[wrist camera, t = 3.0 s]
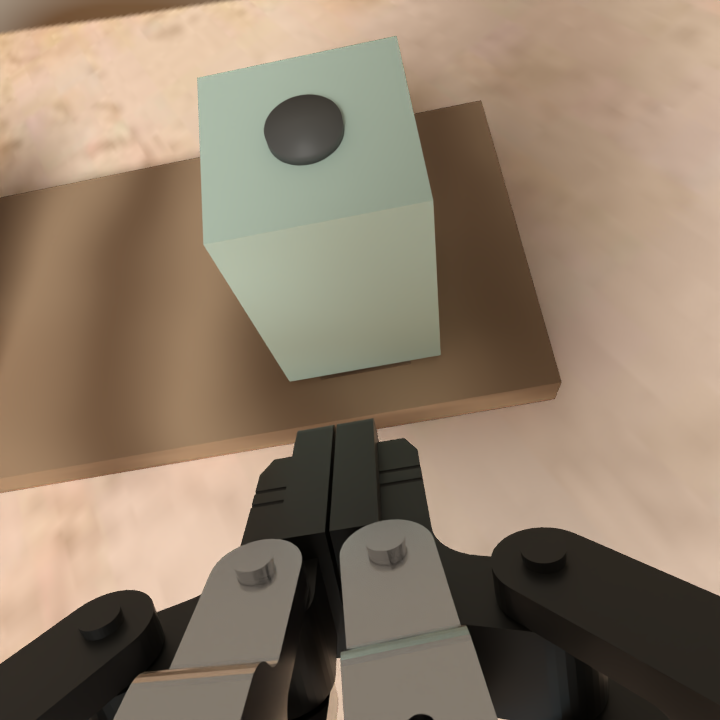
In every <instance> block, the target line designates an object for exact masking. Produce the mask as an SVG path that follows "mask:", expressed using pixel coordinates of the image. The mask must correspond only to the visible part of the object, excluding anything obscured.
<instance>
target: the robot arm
mask: <svg viewBox="0 0 720 720" xmlns="http://www.w3.org/2000/svg"><path fill="white" fill-rule="evenodd" d="M336 658H341V677H342V693H343V709H344V720H498V719H497V718H501V719H507V720H720V596H718V595H716V594H713V593H711V592H709V591H706V590H704V589H702V588H700V587H697V586H695V585H693V584H690V583H688V582H686V581H683V580H681V579H679V578H677V577H674V576H672V575H670V574H667V573H665V572H663V571H660V570H658V569H656V568H653V567H651V566H649V565H647V564H644V563H642V562H640V561H637V560H635V559H633V558H630V557H628V556H626V555H624V554H621V553H619V552H617V551H614V550H612V549H610V548H607V547H605V546H603V545H600V544H598V543H596V542H594V541H591V540H589V539H587V538H584V537H582V536H580V535H577V534H575V533H572V532H570V531H566V530H562V529H557V528H543V527H541V528H531V529H526V530H522V531H519V532H516V533H513V534H511V535H509V536H508V537H506V538H504V539H503V540H502V541H501V542H500V543H499V544H498V545H497V546H496V547H495V549H494V551H493V553H492V556H491V557H490V556H477V555H469V554H465V553H460V552H457V551H455V550H452V549H450V548H448V547H446V546H445V545H444V544H442V543H441V542H440V541H439V540H438V539H437V538H436V537H435V535H434V533H433V531H432V528H431V522H430V517H429V511H428V506H427V500H426V495H425V489H424V484H423V478H422V473H421V467H420V462H419V456H418V451H417V449H416V448H415V447H414V446H413V445H411V444H410V443H409V442H408V441H407V440H406V439H404V438H402V439H396V440H390V441H384V442H379V440H378V435H377V430H376V425H375V421H374V418H371V419H365V420H359V421H353V422H347V423H342V424H337V427H335V425H330V426H324V427H318V428H312V429H306V430H300V431H298V432H297V435H296V440H295V445H294V450H293V456H292V457H288V458H282V459H276V460H274V461H273V462H272V463H271V464H270V465H269V466H268V467H267V468H266V469H265V471H264V472H263V473H262V474H261V475H260V477H259V481H258V485H257V488H256V495H254V499H253V503H252V508H251V510H250V514H249V517H248V521H247V524H246V528H245V532H244V535H243V539H242V543H241V546H240V547H238V548H236V549H234V550H233V551H231V552H229V553H228V554H227V555H225V556H224V557H223V558H222V559H221V560H220V561H219V562H218V563H217V564H216V565H215V566H214V568H213V569H212V571H211V573H210V575H209V578H208V580H207V582H206V585H205V587H204V589H203V592H202V594H201V595H199V596H197V597H195V598H193V599H190V600H188V601H185V602H183V603H180V604H178V605H175V606H172V607H170V608H167V609H164V610H162V611H159V612H156V610H155V607H154V604H153V601H152V599H151V598H150V597H149V596H148V595H147V594H145V593H143V592H140V591H135V590H123V591H117V592H112V593H109V594H106V595H103V596H100V597H98V598H96V599H94V600H92V601H90V602H88V603H86V604H84V605H83V606H81V607H80V608H78V609H77V610H75V611H74V612H73V613H71V614H70V615H68V616H67V617H66V618H64V619H63V620H61V621H60V622H59V623H57V624H56V625H54V626H53V627H52V628H50V629H49V630H47V631H46V632H45V633H43V634H42V635H40V636H39V637H38V638H36V639H35V640H33V641H32V642H31V643H29V644H28V645H26V646H25V647H23V648H22V649H21V650H19V651H18V652H16V653H15V654H14V655H12V656H11V657H9V658H8V659H7V660H5V661H4V662H2V663H1V664H0V720H337V712H338V695H337V690H336V686H335V683H334V682H335V676H336Z"/></svg>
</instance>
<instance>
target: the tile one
mask: <svg viewBox="0 0 720 720" xmlns="http://www.w3.org/2000/svg"><path fill="white" fill-rule="evenodd" d="M197 83H198V110H199V138H200V165H201V193H202V220H203V245H204V246H205V248H206V250H207V251H208V253H209V254H210V256H211V258H212V259H213V261H214V262H215V264H216V266H217V267H218V269H219V270H220V272H221V273H222V275H223V277H224V278H225V280H226V281H227V283H228V285H229V286H230V288H231V289H232V291H233V293H234V294H235V296H236V297H237V299H238V300H239V302H240V304H241V305H242V307H243V308H244V310H245V312H246V313H247V315H248V316H249V318H250V320H251V321H252V323H253V324H254V326H255V327H256V329H257V331H258V332H259V334H260V335H261V337H262V339H263V340H264V342H265V343H266V345H267V346H268V348H269V350H270V351H271V353H272V354H273V356H274V358H275V359H276V361H277V362H278V364H279V366H280V367H281V369H282V370H283V372H284V373H285V375H286V377H287V378H288V380H289V381H290V382H291V381H296V380H302V379H308V378H314V377H319V376H325V375H331V374H336V373H342V372H348V371H353V370H359V369H365V368H370V367H376V366H382V365H387V364H393V363H399V362H404V361H410V360H416V359H421V358H427V357H433V356H438V355H441V350H440V329H439V309H438V288H437V268H436V247H435V227H434V206H433V197H432V193H431V188H430V184H429V179H428V175H427V170H426V166H425V161H424V157H423V152H422V148H421V143H420V139H419V135H418V130H417V126H416V121H415V117H414V112H413V108H412V103H411V99H410V94H409V90H408V85H407V81H406V76H405V72H404V67H403V63H402V58H401V54H400V50H399V45H398V41H397V36H394V37H389V38H384V39H379V40H375V41H370V42H365V43H361V44H356V45H351V46H346V47H342V48H337V49H332V50H327V51H323V52H318V53H313V54H308V55H304V56H299V57H294V58H290V59H285V60H280V61H275V62H271V63H266V64H261V65H256V66H252V67H247V68H242V69H237V70H233V71H228V72H223V73H219V74H214V75H209V76H204V77H200V78H197Z"/></svg>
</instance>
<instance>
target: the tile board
mask: <svg viewBox="0 0 720 720" xmlns="http://www.w3.org/2000/svg"><path fill="white" fill-rule="evenodd" d="M414 117H415V121H416V126H417V130H418V135H419V139H420V143H421V148H422V152H423V157H424V161H425V166H426V170H427V175H428V179H429V184H430V188H431V193H432V197H433V206H434V227H435V247H436V268H437V288H438V309H439V329H440V350H441V355H438V356H433V357H427V358H421V359H416V360H410V361H404V362H399V363H393V364H387V365H382V366H376V367H370V368H365V369H359V370H353V371H348V372H342V373H336V374H331V375H325V376H319V377H314V378H308V379H302V380H296V381H291V382H290V381H289V380H288V378H287V377H286V375H285V373H284V372H283V370H282V369H281V367H280V366H279V364H278V362H277V361H276V359H275V358H274V356H273V354H272V353H271V351H270V350H269V348H268V346H267V345H266V343H265V342H264V340H263V339H262V337H261V335H260V334H259V332H258V331H257V329H256V327H255V326H254V324H253V323H252V321H251V320H250V318H249V316H248V315H247V313H246V312H245V310H244V308H243V307H242V305H241V304H240V302H239V300H238V299H237V297H236V296H235V294H234V293H233V291H232V289H231V288H230V286H229V285H228V283H227V281H226V280H225V278H224V277H223V275H222V273H221V272H220V270H219V269H218V267H217V266H216V264H215V262H214V261H213V259H212V258H211V256H210V254H209V253H208V251H207V250H206V248H205V246H204V245H203V220H202V193H201V165H200V157H199V158H194V159H189V160H184V161H179V162H174V163H169V164H164V165H159V166H155V167H150V168H145V169H140V170H135V171H130V172H125V173H120V174H115V175H110V176H105V177H100V178H95V179H90V180H85V181H80V182H76V183H71V184H66V185H61V186H56V187H51V188H46V189H41V190H36V191H31V192H26V193H21V194H16V195H11V196H6V197H1V198H0V493H3V492H9V491H15V490H21V489H27V488H33V487H39V486H44V485H50V484H56V483H62V482H68V481H74V480H80V479H86V478H92V477H97V476H103V475H109V474H115V473H121V472H127V471H133V470H139V469H145V468H150V467H156V466H162V465H168V464H174V463H180V462H186V461H192V460H198V459H204V458H209V457H215V456H221V455H227V454H233V453H239V452H245V451H251V450H257V449H262V448H268V447H274V446H280V445H286V444H292V443H295V440H296V435H297V432H298V431H300V430H306V429H312V428H318V427H324V426H330V425H335V427H337V424H342V423H347V422H353V421H359V420H365V419H371V418H374V421H375V425H376V429H380V428H386V427H392V426H398V425H404V424H410V423H416V422H422V421H427V420H433V419H439V418H445V417H451V416H457V415H463V414H469V413H475V412H480V411H486V410H492V409H498V408H504V407H510V406H516V405H522V404H528V403H533V402H539V401H545V400H551V399H555V397H556V394H557V392H558V389H559V387H560V385H561V379H560V376H559V372H558V369H557V365H556V362H555V358H554V355H553V351H552V348H551V344H550V341H549V337H548V334H547V330H546V327H545V323H544V320H543V316H542V313H541V309H540V306H539V302H538V299H537V295H536V292H535V288H534V285H533V281H532V278H531V274H530V271H529V267H528V263H527V260H526V256H525V253H524V249H523V246H522V242H521V239H520V235H519V232H518V228H517V225H516V221H515V218H514V214H513V211H512V207H511V204H510V200H509V197H508V193H507V190H506V186H505V183H504V179H503V176H502V172H501V169H500V165H499V162H498V158H497V155H496V151H495V148H494V144H493V141H492V137H491V134H490V130H489V127H488V123H487V120H486V116H485V113H484V109H483V106H482V102H481V100H480V101H475V102H470V103H466V104H461V105H456V106H451V107H446V108H441V109H436V110H431V111H426V112H421V113H416V114H414Z"/></svg>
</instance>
